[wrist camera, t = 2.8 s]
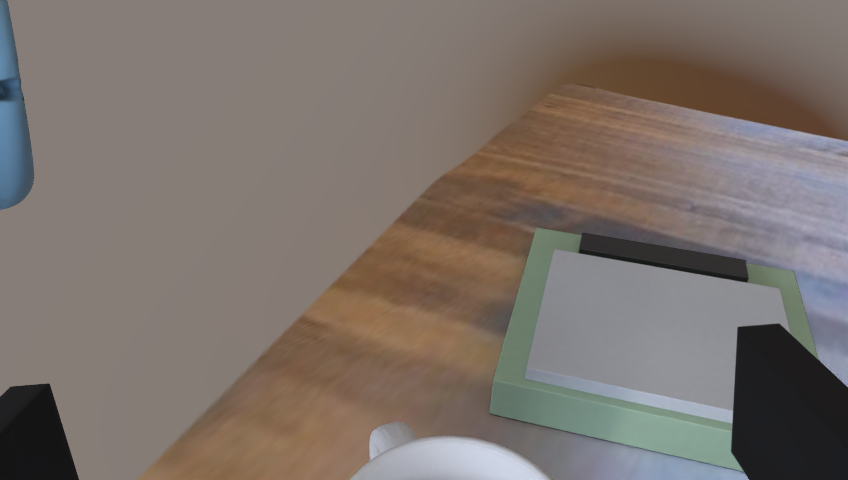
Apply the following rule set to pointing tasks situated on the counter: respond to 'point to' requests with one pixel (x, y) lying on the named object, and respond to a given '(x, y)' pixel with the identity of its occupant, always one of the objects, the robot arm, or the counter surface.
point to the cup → (441, 458)
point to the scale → (636, 341)
